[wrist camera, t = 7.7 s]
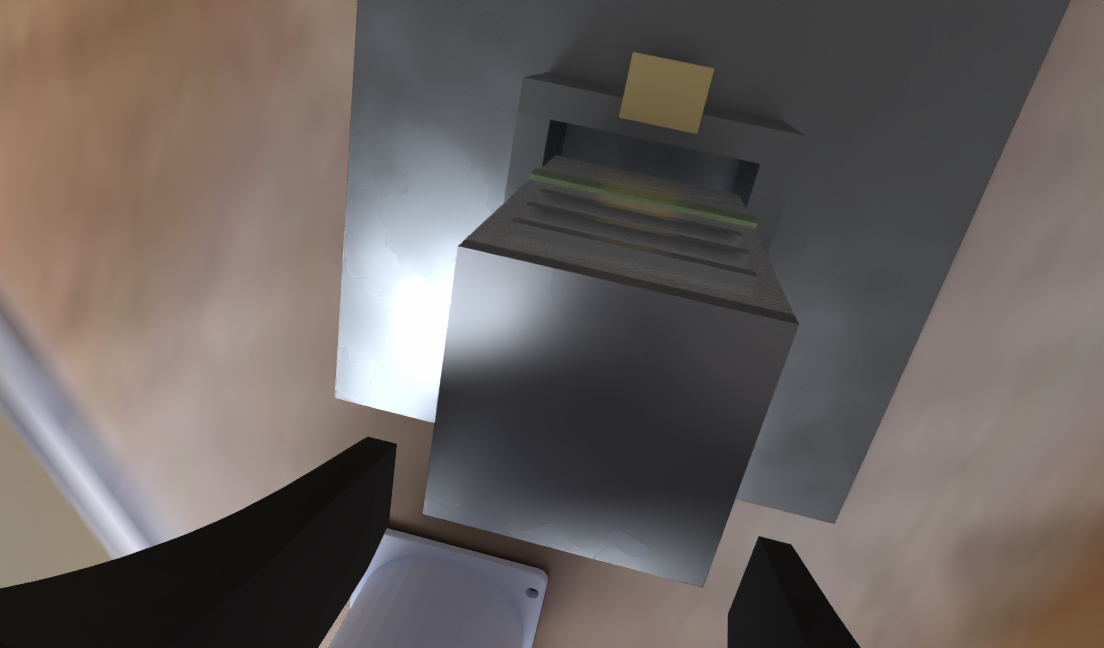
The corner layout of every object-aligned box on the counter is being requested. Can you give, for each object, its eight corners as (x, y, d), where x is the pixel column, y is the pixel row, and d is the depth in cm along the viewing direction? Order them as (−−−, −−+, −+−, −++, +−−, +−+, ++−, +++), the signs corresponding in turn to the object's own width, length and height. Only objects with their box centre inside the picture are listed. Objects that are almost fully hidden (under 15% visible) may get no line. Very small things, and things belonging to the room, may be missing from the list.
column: (691, 362, 16) (704, 591, 9) (523, 322, 16) (419, 515, 9) (742, 187, 14) (807, 314, 7) (554, 147, 14) (454, 233, 8)
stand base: (828, 505, 24) (864, 612, 19) (346, 385, 25) (276, 458, 21) (1082, -73, 16) (1235, -118, 12) (385, -197, 18) (289, -279, 13)
